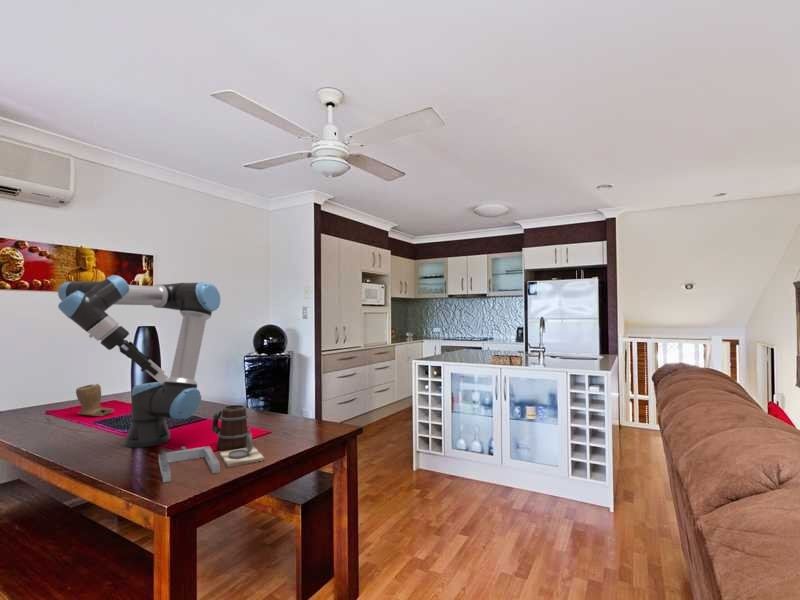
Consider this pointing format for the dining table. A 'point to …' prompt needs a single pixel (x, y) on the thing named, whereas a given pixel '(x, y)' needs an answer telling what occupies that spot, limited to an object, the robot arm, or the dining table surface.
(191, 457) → the u-shaped metal frame
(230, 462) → the ash board
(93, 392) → the tan upright piece
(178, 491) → the dining table surface
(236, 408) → the mug
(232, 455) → the pocket watch
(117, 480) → the dining table surface
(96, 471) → the dining table surface
